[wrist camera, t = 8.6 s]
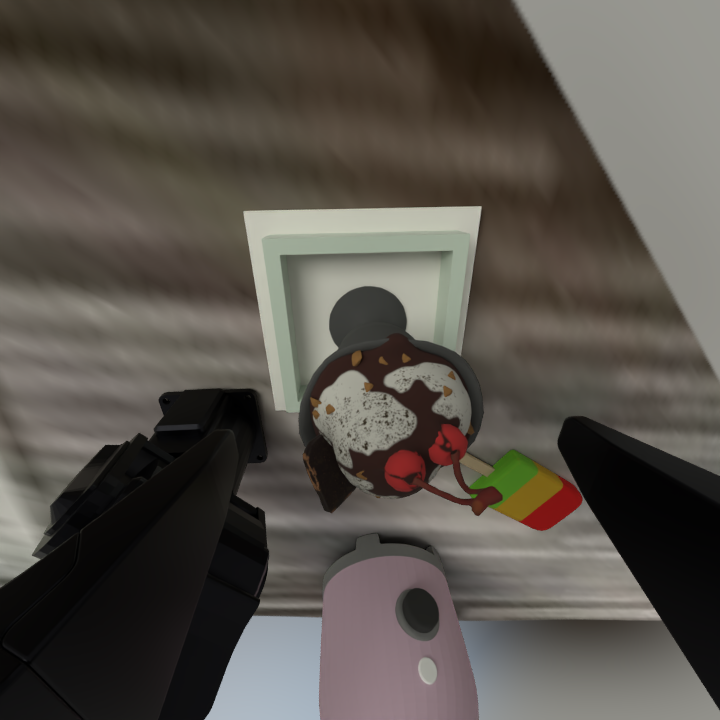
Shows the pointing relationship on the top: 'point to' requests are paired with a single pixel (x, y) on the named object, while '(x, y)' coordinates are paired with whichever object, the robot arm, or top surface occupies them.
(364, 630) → the blender
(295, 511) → the top surface
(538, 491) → the popsicle
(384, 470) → the sundae
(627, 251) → the top surface
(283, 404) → the holder cell
